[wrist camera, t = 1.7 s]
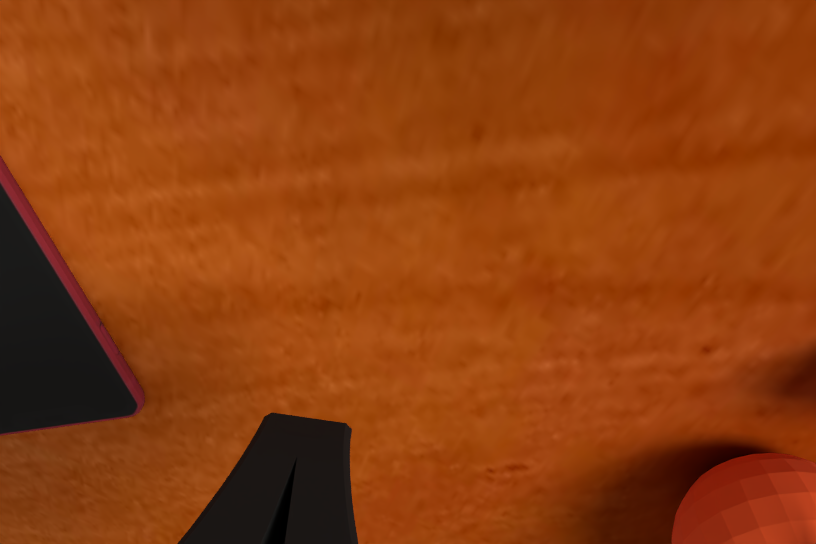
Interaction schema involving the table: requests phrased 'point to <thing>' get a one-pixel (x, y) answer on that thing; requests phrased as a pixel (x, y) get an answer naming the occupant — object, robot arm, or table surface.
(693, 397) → the table surface
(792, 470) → the clementine
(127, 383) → the smartphone
